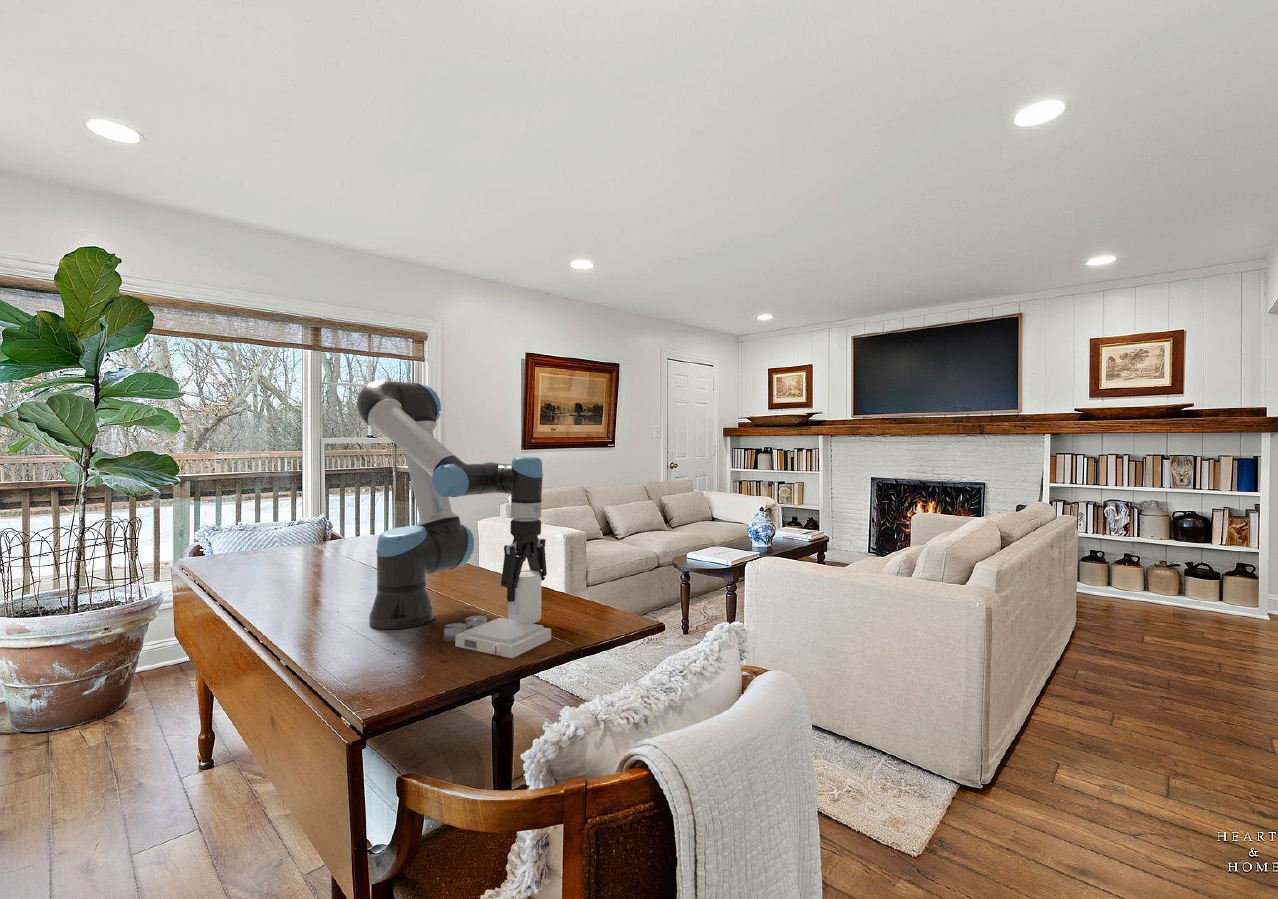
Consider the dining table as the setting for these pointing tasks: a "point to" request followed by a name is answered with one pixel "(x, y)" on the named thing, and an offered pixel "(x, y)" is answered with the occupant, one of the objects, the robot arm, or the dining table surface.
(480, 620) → the spacer
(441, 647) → the dining table surface
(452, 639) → the spacer
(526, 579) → the beverage can
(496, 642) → the scale
